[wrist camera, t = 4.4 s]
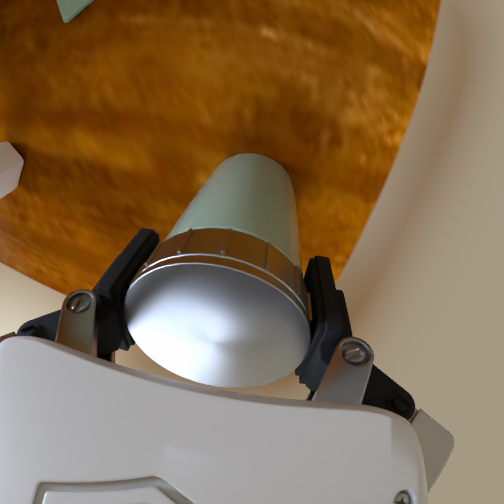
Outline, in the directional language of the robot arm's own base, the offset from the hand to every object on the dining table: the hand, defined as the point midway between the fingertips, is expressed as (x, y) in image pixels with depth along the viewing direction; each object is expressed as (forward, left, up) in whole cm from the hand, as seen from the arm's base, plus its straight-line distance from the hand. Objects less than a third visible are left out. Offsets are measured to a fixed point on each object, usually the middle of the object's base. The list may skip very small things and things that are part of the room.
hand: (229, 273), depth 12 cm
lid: (0, 0, +3) cm, 3 cm away
